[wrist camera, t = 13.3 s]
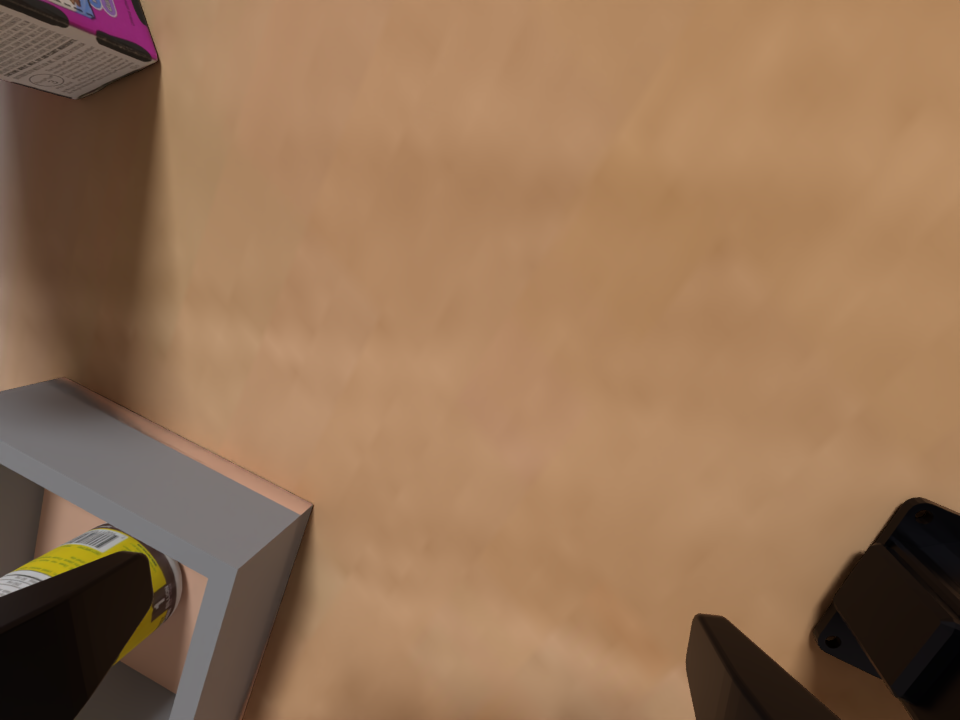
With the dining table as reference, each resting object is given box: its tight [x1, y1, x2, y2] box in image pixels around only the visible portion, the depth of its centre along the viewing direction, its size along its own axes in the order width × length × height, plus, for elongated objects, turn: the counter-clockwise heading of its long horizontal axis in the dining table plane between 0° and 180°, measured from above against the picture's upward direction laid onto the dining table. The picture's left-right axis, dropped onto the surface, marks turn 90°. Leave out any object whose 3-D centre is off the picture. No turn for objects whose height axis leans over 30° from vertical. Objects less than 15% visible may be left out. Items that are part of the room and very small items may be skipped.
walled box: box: [0, 377, 313, 720], centre depth 24 cm, size 14×14×5 cm
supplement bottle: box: [0, 523, 182, 666], centre depth 20 cm, size 6×6×10 cm
